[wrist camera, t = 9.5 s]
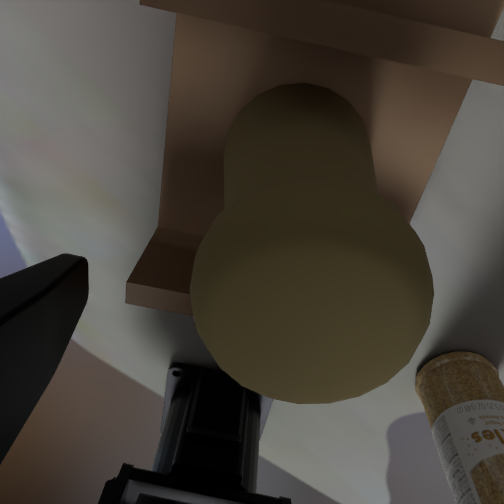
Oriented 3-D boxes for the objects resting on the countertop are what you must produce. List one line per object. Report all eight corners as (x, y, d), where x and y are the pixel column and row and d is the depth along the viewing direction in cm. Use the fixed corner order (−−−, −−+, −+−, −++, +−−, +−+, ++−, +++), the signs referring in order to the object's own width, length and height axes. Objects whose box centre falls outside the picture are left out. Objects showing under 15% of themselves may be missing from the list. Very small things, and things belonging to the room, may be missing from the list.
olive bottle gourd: (222, 220, 19) (161, 433, 9) (225, 76, 16) (140, 180, 6) (356, 230, 19) (430, 458, 9) (385, 88, 16) (540, 211, 6)
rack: (376, 278, 21) (402, 356, 16) (161, 235, 21) (125, 303, 16) (661, -397, 11) (971, -728, 6) (232, -516, 10) (186, -981, 5)
